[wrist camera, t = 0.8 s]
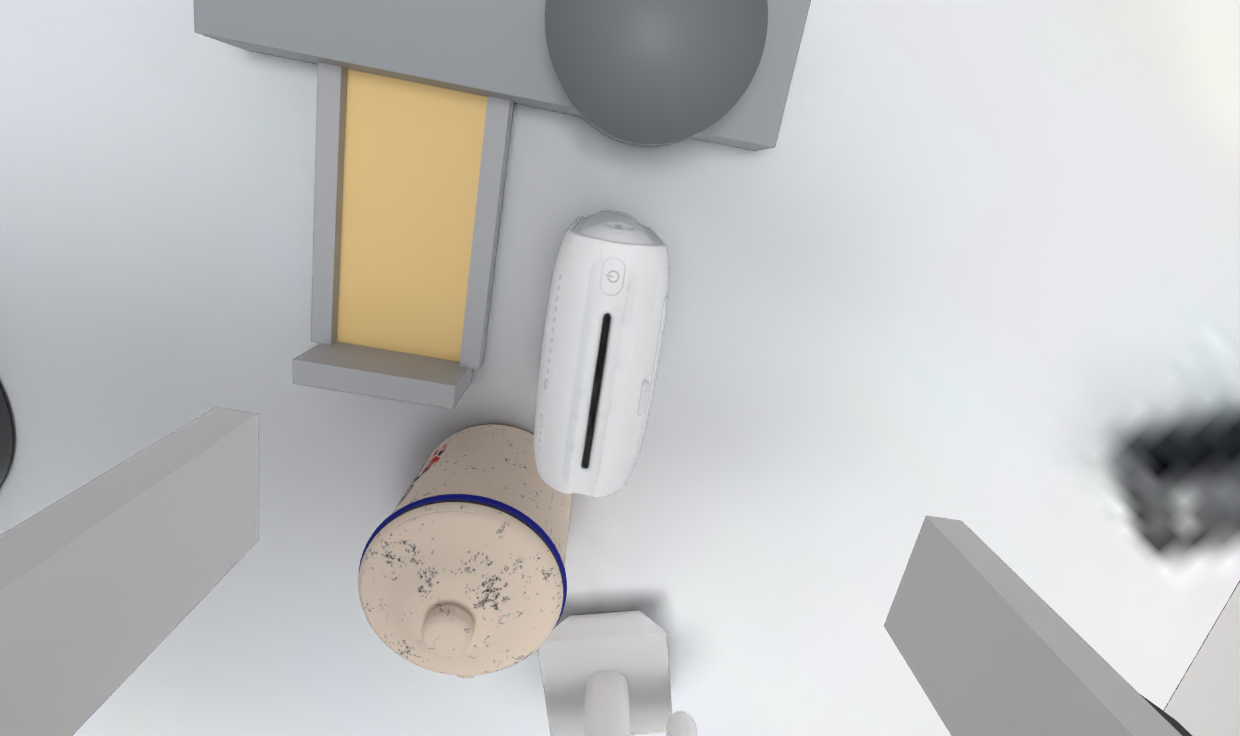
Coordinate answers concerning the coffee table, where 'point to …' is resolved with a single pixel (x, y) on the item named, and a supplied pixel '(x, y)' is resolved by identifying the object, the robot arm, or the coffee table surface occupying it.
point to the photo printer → (600, 353)
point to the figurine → (609, 677)
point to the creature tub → (1213, 680)
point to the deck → (480, 144)
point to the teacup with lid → (470, 557)
